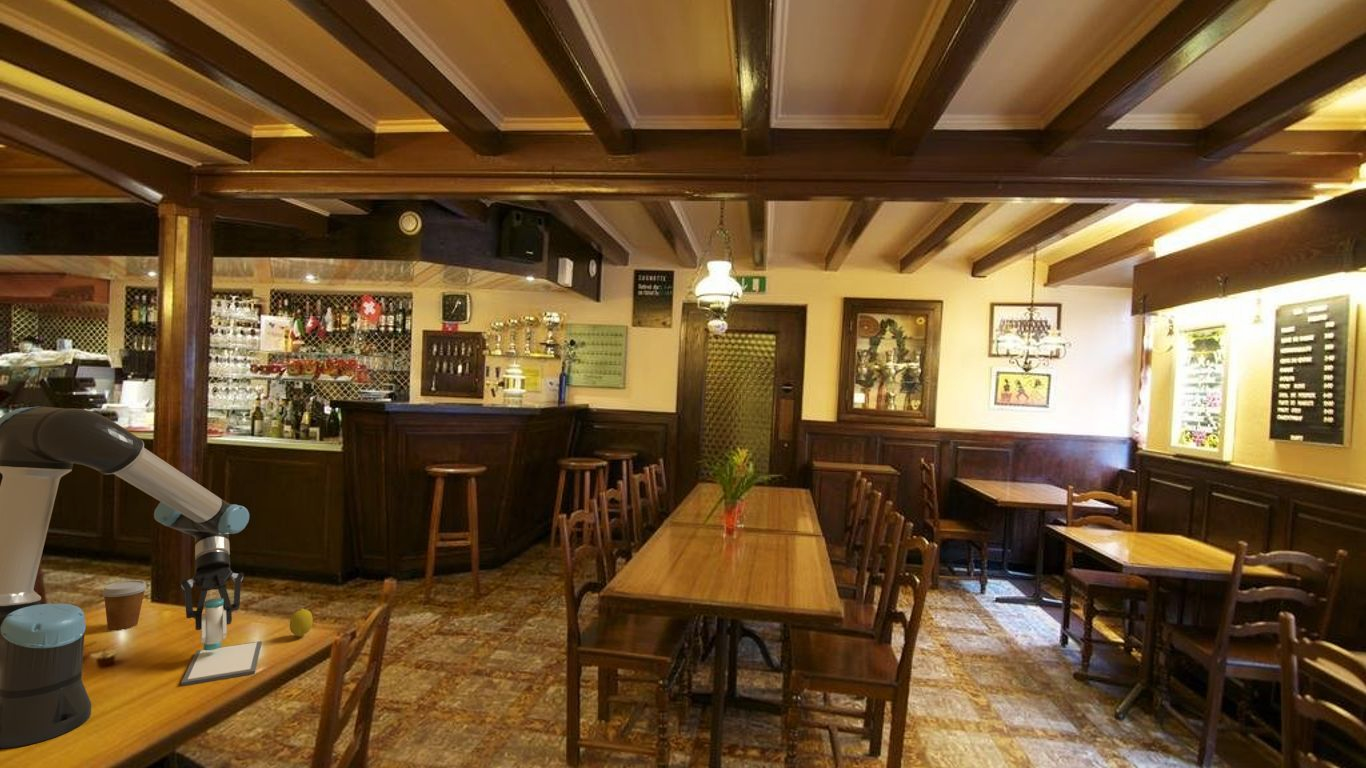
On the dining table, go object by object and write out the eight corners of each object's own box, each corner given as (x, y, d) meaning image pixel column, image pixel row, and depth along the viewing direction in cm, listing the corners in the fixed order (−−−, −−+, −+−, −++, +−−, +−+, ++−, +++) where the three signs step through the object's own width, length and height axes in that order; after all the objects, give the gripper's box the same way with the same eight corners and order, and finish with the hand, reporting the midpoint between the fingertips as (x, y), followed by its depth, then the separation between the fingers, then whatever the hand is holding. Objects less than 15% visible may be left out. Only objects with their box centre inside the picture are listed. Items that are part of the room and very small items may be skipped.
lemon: (314, 637, 170) (316, 608, 170) (292, 642, 166) (293, 613, 166) (308, 631, 174) (310, 603, 174) (286, 636, 170) (287, 608, 170)
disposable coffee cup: (150, 625, 175) (152, 583, 175) (105, 635, 167) (108, 592, 167) (138, 618, 180) (140, 577, 180) (94, 627, 172) (97, 585, 172)
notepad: (181, 686, 140) (181, 681, 140) (196, 653, 157) (196, 649, 157) (254, 673, 147) (254, 669, 147) (261, 644, 165) (261, 640, 165)
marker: (201, 651, 153) (204, 604, 153) (204, 646, 156) (206, 599, 156) (220, 648, 155) (222, 601, 155) (222, 643, 158) (224, 597, 158)
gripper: (248, 560, 173) (252, 637, 160) (172, 570, 162) (170, 653, 149) (251, 545, 169) (255, 623, 156) (173, 554, 158) (171, 639, 145)
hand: (214, 637), depth 153 cm, fingers closed on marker, 3 cm apart
